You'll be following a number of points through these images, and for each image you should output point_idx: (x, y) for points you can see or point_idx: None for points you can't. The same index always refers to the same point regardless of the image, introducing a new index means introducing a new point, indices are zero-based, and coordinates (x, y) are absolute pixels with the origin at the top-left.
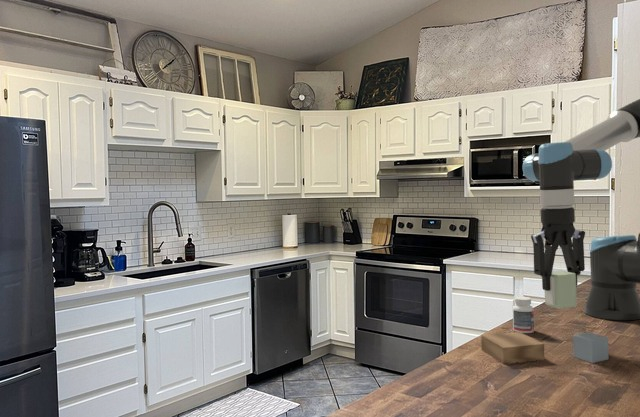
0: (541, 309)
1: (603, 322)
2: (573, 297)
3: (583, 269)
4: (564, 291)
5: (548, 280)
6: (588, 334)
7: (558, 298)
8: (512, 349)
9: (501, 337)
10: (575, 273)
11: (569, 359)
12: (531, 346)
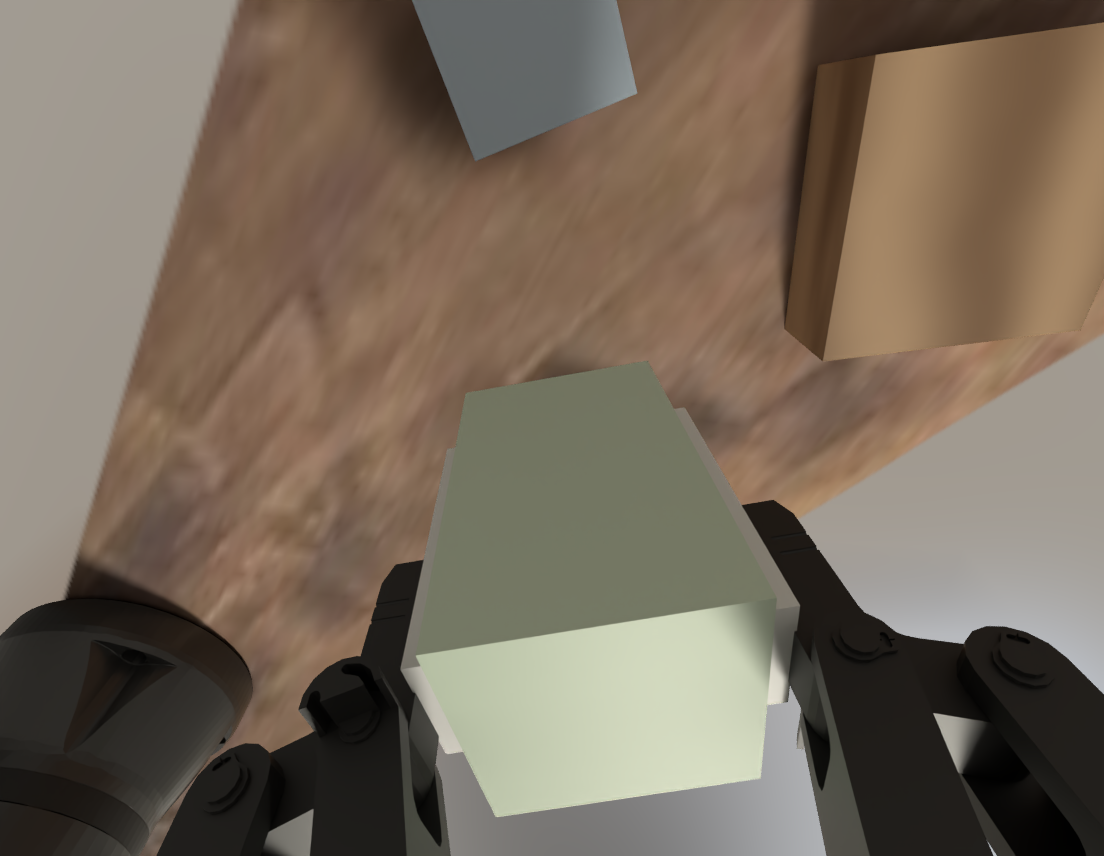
0: None
1: (214, 591)
2: (491, 431)
3: (219, 770)
4: (605, 453)
5: (802, 594)
6: (511, 86)
7: (670, 403)
8: None
9: (1013, 266)
10: (389, 690)
11: (670, 38)
12: (974, 41)
